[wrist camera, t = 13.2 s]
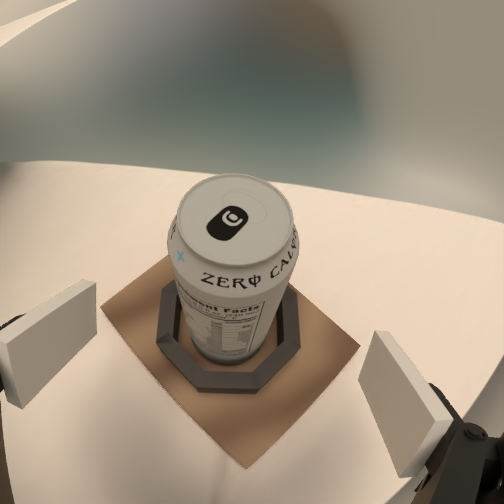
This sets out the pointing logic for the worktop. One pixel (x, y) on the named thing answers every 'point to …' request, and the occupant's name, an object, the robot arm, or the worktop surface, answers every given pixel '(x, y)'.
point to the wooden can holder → (237, 375)
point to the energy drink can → (232, 262)
